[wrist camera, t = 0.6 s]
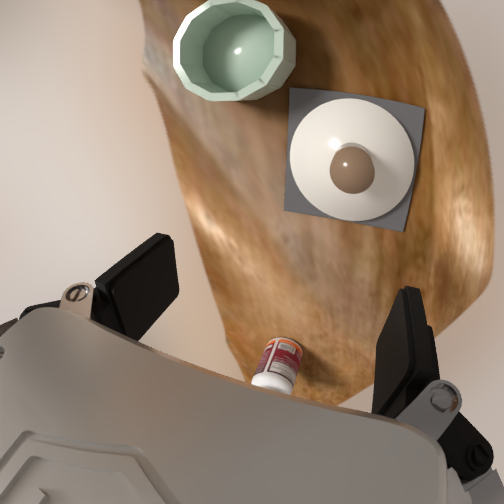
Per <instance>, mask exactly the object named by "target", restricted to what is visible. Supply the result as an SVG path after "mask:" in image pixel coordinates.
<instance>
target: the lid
mask: <svg viewBox="0 0 504 504" xmlns="http://www.w3.org/2000/svg"><path fill="white" fill-rule="evenodd" d="M290 164H291V170H292V174H293V177H294V179H295V182H296V184H297V186H298V188H299V189H300V191H301V192H302V194H303V195H304V196H305V198H306V199H307V200H308V201H309V202H310V203H311V204H313V205H314V206H315V207H316V208H318V209H319V210H321V211H322V212H324V213H326V214H328V215H330V216H332V217H335V218H338V219H342V220H349V221H363V220H369V219H373V218H376V217H379V216H381V215H383V214H385V213H387V212H388V211H390V210H391V209H393V208H394V207H395V206H396V205H397V204H398V203H399V202H400V201H401V200H402V198H403V197H404V196H405V194H406V192H407V191H408V189H409V186H410V184H411V181H412V177H413V172H414V155H413V149H412V146H411V142H410V140H409V138H408V135H407V133H406V132H405V130H404V128H403V127H402V126H401V124H400V123H399V122H398V121H397V119H395V118H394V117H393V116H392V115H391V114H390V113H389V112H387V111H386V110H385V109H383V108H381V107H379V106H378V105H376V104H373V103H371V102H368V101H364V100H360V99H351V98H348V99H338V100H332V101H330V102H327V103H324V104H322V105H320V106H318V107H317V108H315V109H314V110H312V111H311V112H310V113H309V114H308V115H307V116H306V117H305V118H304V119H303V120H302V121H301V123H300V124H299V126H298V127H297V129H296V131H295V133H294V136H293V139H292V143H291V148H290Z"/></svg>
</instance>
